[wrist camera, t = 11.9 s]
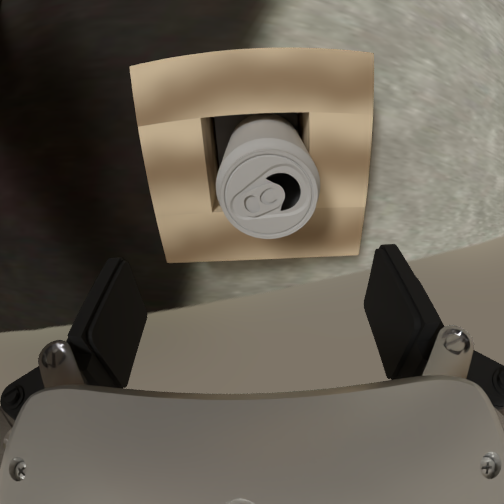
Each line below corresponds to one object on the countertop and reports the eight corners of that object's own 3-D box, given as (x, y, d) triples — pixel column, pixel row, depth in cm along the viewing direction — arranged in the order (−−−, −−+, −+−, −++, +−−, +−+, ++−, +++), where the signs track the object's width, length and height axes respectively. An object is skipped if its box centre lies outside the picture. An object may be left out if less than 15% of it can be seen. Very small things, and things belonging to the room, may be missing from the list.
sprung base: (215, 109, 26) (213, 111, 25) (295, 105, 26) (296, 107, 25) (222, 181, 30) (221, 185, 30) (296, 178, 30) (297, 181, 29)
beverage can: (308, 162, 28) (338, 223, 18) (247, 186, 30) (241, 258, 20) (283, 101, 25) (302, 125, 15) (218, 128, 26) (192, 172, 16)
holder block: (157, 64, 24) (129, 66, 18) (347, 54, 23) (373, 53, 18) (182, 225, 34) (167, 262, 29) (341, 218, 34) (358, 254, 28)
